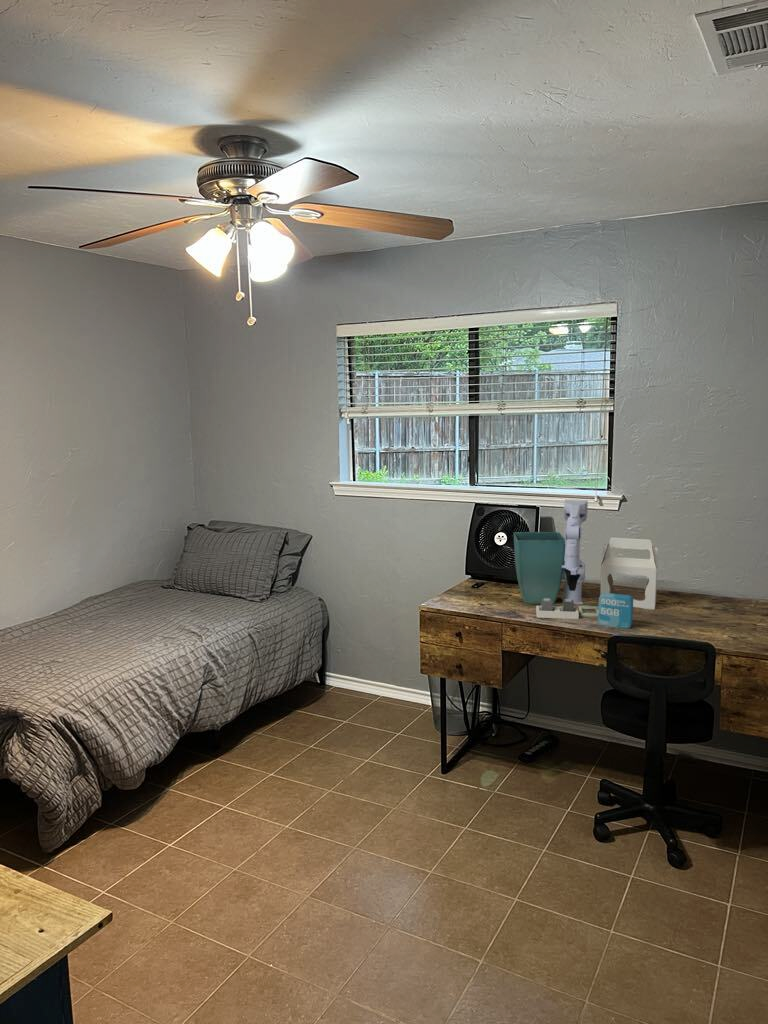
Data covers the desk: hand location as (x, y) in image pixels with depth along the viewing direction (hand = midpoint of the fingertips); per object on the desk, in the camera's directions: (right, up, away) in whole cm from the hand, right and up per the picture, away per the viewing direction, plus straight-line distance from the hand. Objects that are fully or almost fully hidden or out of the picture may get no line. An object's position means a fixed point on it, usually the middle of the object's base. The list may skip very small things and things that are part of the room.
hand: (571, 588), depth 305 cm
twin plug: (-11, -10, -4) cm, 15 cm away
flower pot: (-10, -7, +19) cm, 23 cm away
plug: (-3, -10, -5) cm, 12 cm away
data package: (+12, -13, -17) cm, 25 cm away
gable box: (+27, -8, +13) cm, 31 cm away
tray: (+9, -10, -1) cm, 13 cm away
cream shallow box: (-7, -11, -4) cm, 14 cm away
